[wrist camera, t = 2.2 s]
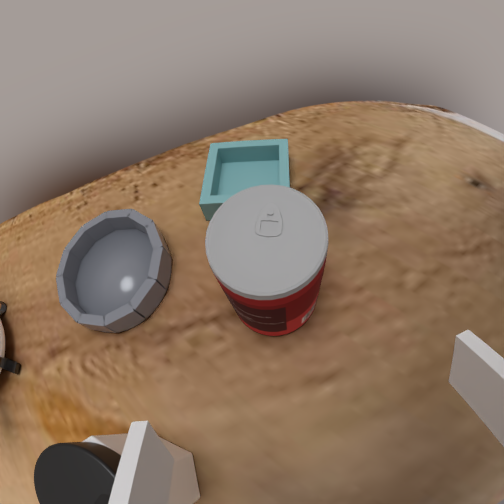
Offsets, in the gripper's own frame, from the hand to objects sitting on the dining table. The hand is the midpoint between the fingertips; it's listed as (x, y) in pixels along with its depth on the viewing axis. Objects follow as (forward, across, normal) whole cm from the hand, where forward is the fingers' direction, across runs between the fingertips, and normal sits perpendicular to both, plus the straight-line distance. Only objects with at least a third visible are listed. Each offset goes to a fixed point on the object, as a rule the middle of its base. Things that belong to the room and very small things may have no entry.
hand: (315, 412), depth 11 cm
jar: (+7, -14, -13) cm, 21 cm away
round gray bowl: (+22, -16, +2) cm, 27 cm away
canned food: (+18, 0, -3) cm, 18 cm away
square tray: (+27, +1, +7) cm, 28 cm away
